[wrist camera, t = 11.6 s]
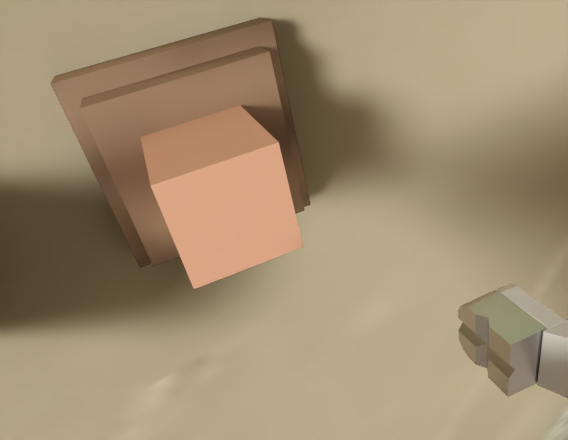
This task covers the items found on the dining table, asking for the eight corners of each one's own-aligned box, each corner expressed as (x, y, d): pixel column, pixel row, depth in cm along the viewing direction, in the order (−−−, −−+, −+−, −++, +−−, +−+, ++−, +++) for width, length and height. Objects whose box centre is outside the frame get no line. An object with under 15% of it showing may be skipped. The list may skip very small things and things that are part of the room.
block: (263, 192, 25) (303, 246, 20) (175, 224, 24) (193, 289, 19) (240, 105, 22) (278, 142, 17) (140, 137, 21) (150, 185, 16)
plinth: (299, 192, 30) (323, 218, 27) (138, 250, 28) (142, 287, 25) (260, 17, 24) (284, 23, 21) (54, 76, 23) (45, 93, 19)
